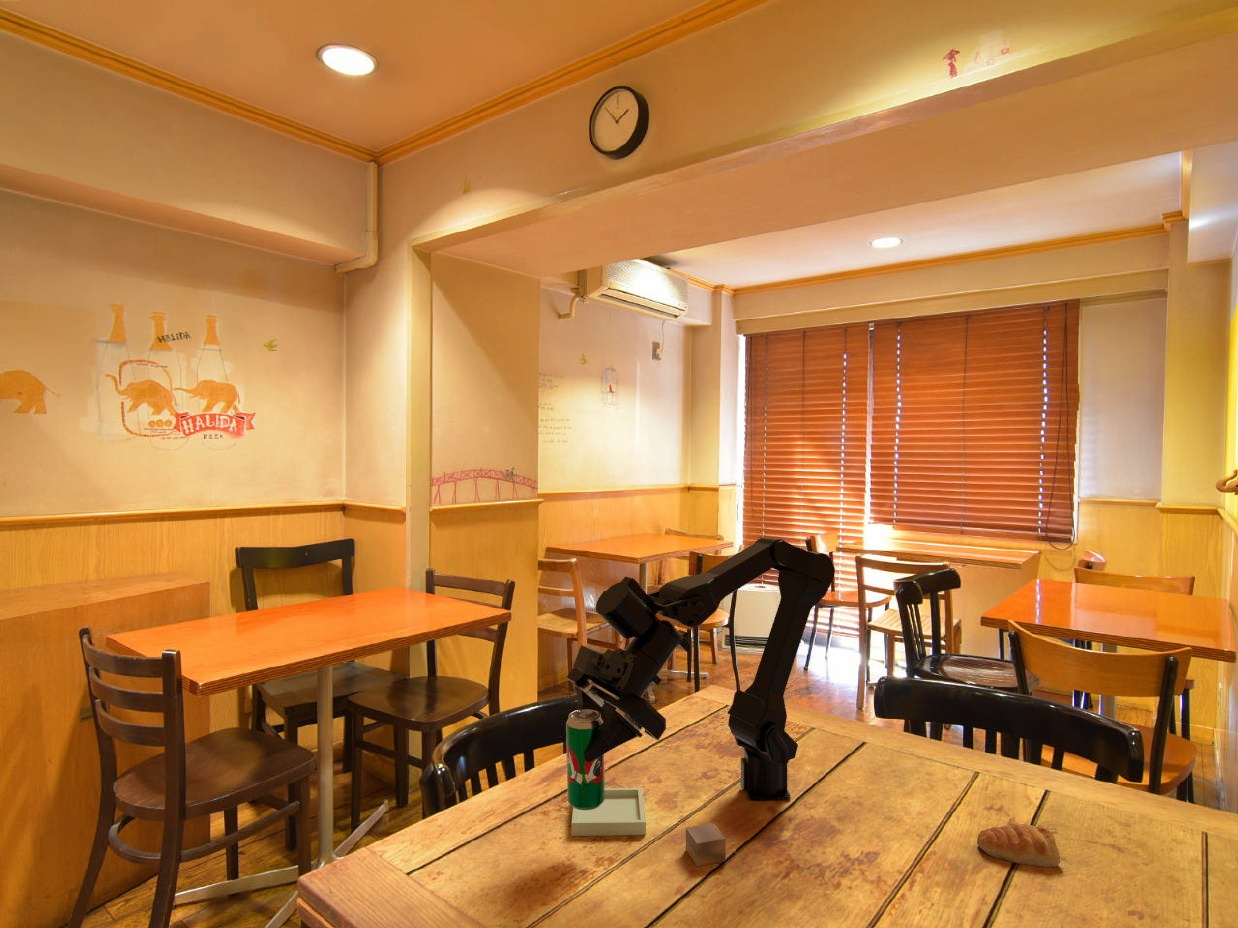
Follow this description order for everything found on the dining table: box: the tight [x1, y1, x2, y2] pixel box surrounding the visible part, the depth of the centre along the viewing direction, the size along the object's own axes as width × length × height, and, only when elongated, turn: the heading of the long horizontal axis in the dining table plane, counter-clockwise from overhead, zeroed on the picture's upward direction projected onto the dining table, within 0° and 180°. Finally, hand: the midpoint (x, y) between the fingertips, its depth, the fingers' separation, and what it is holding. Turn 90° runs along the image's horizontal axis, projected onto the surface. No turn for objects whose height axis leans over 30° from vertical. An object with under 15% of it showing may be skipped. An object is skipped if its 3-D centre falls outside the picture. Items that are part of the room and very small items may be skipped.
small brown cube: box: [685, 823, 727, 867], centre depth 94 cm, size 4×4×3 cm
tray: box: [571, 787, 647, 837], centre depth 105 cm, size 10×10×2 cm
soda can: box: [565, 709, 606, 810], centre depth 96 cm, size 5×5×12 cm
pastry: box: [976, 822, 1061, 868], centre depth 95 cm, size 9×7×4 cm
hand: (576, 753), depth 95 cm, fingers closed on soda can, 5 cm apart
